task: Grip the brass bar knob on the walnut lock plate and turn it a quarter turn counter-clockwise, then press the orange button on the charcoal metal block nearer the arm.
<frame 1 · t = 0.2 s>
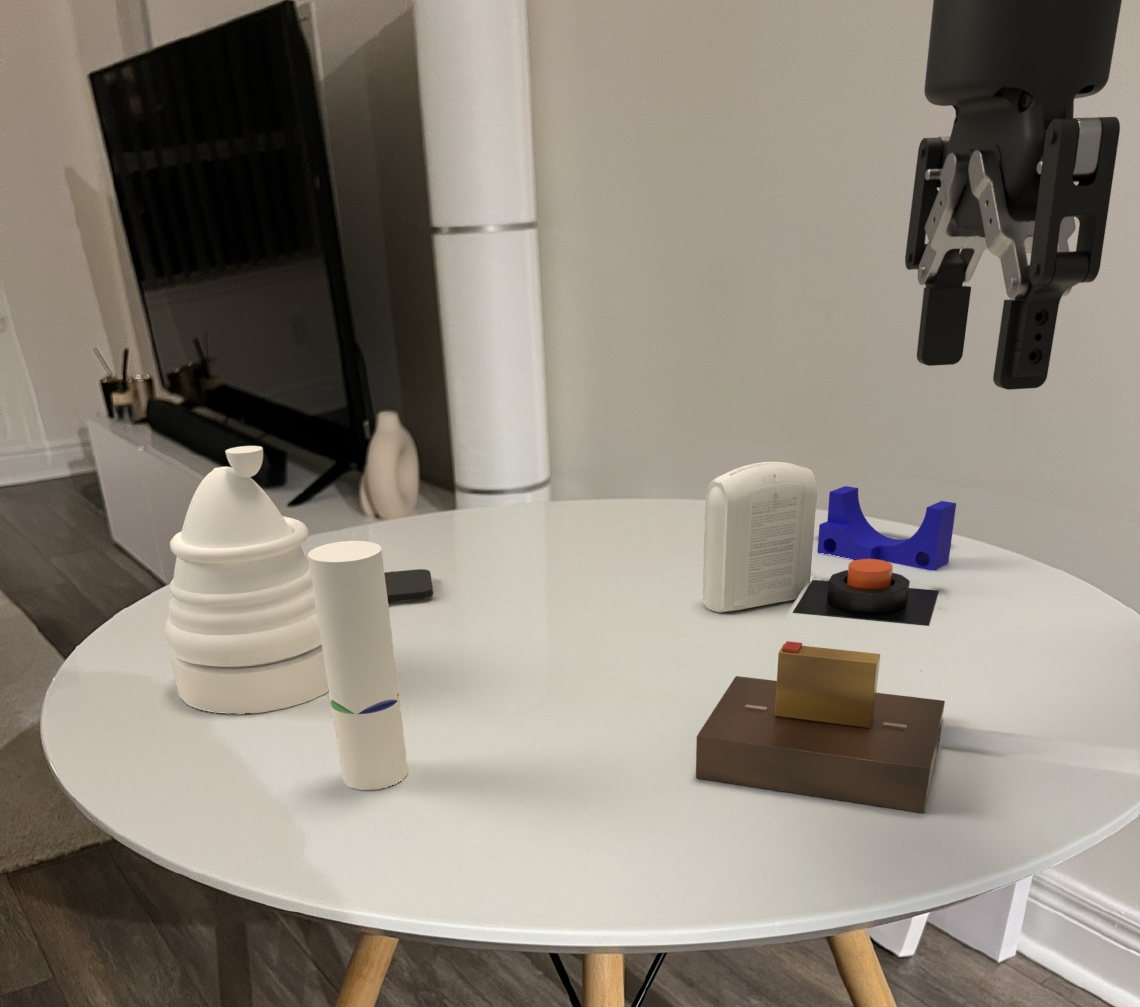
hand: (975, 375, 52), 25 cm above the table, tool pointing down, fingers open, 8 cm apart
honey pot: (262, 682, 85), on the table
phone: (354, 596, 103), on the table
lock plate: (820, 759, 70), on the table
tube: (375, 776, 70), on the table
lock knob: (826, 683, 67), point 5 cm above the table, hinge at 0.0°
photo printer: (756, 603, 97), on the table
button: (869, 575, 90), point 4 cm above the table, slide at 0.1 cm
button block: (865, 619, 92), on the table
blue u-shaped cradle: (881, 560, 107), on the table
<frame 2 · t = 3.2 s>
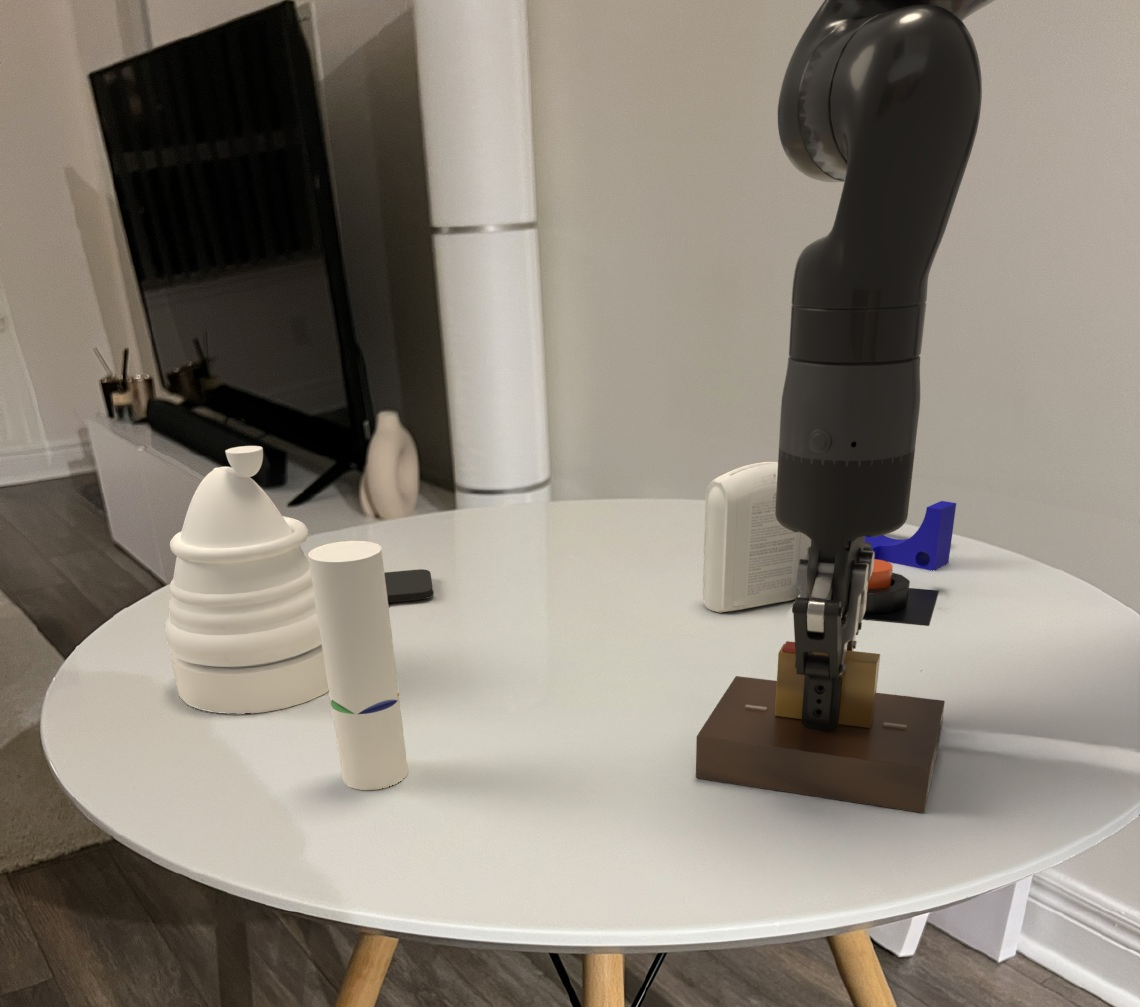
hand: (823, 716, 68), 3 cm above the table, tool pointing down, fingers closed
nothing on the table moved.
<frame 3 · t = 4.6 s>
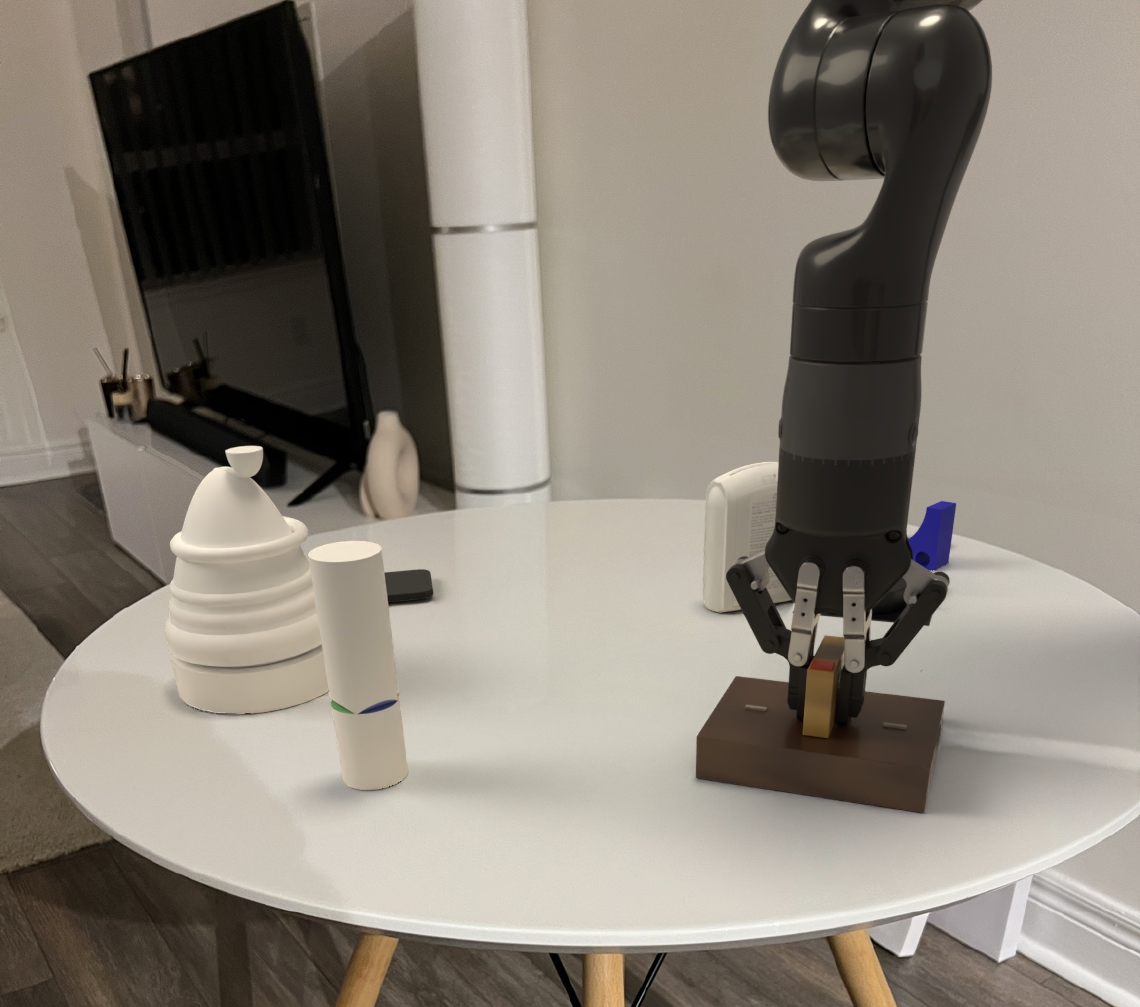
hand: (823, 716, 68), 3 cm above the table, tool pointing down, fingers closed
lock knob: (826, 683, 67), point 5 cm above the table, hinge at 90.2°
everything else where it was.
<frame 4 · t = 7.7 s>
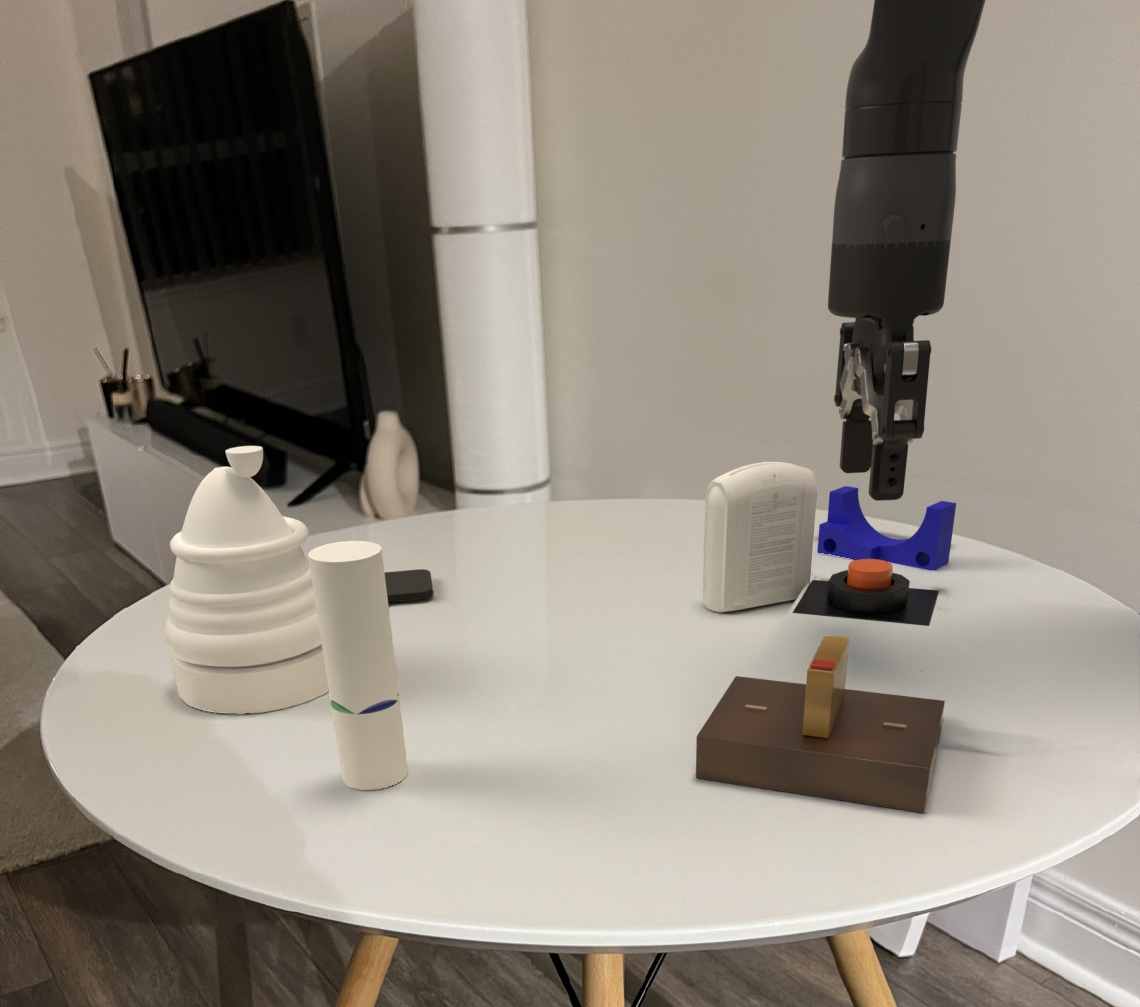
hand: (869, 484, 77), 14 cm above the table, tool pointing down, fingers open, 8 cm apart
nothing on the table moved.
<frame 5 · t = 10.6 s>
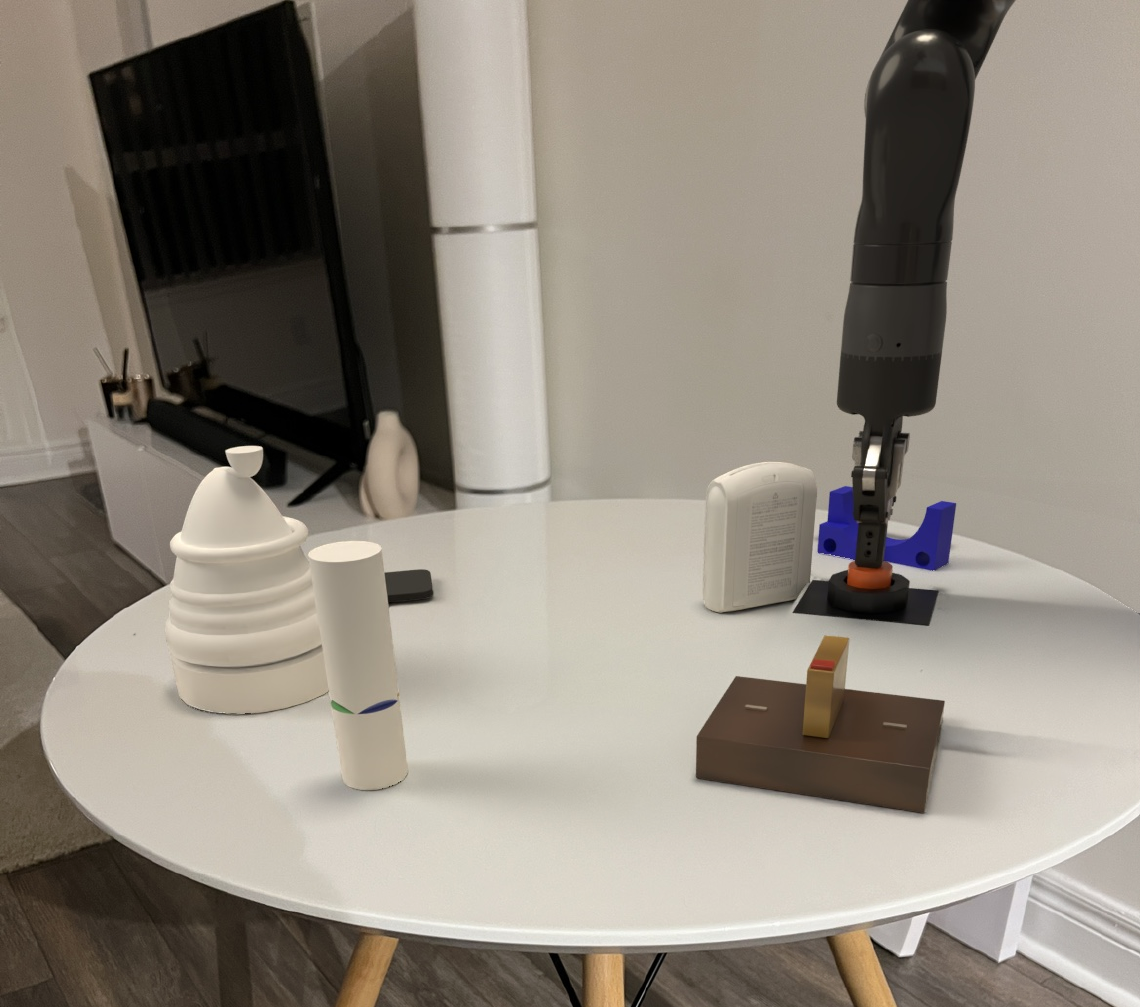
hand: (868, 565, 90), 5 cm above the table, tool pointing down, fingers closed
button: (869, 575, 90), point 4 cm above the table, slide at 0.1 cm, touching gripper
everything else where it was.
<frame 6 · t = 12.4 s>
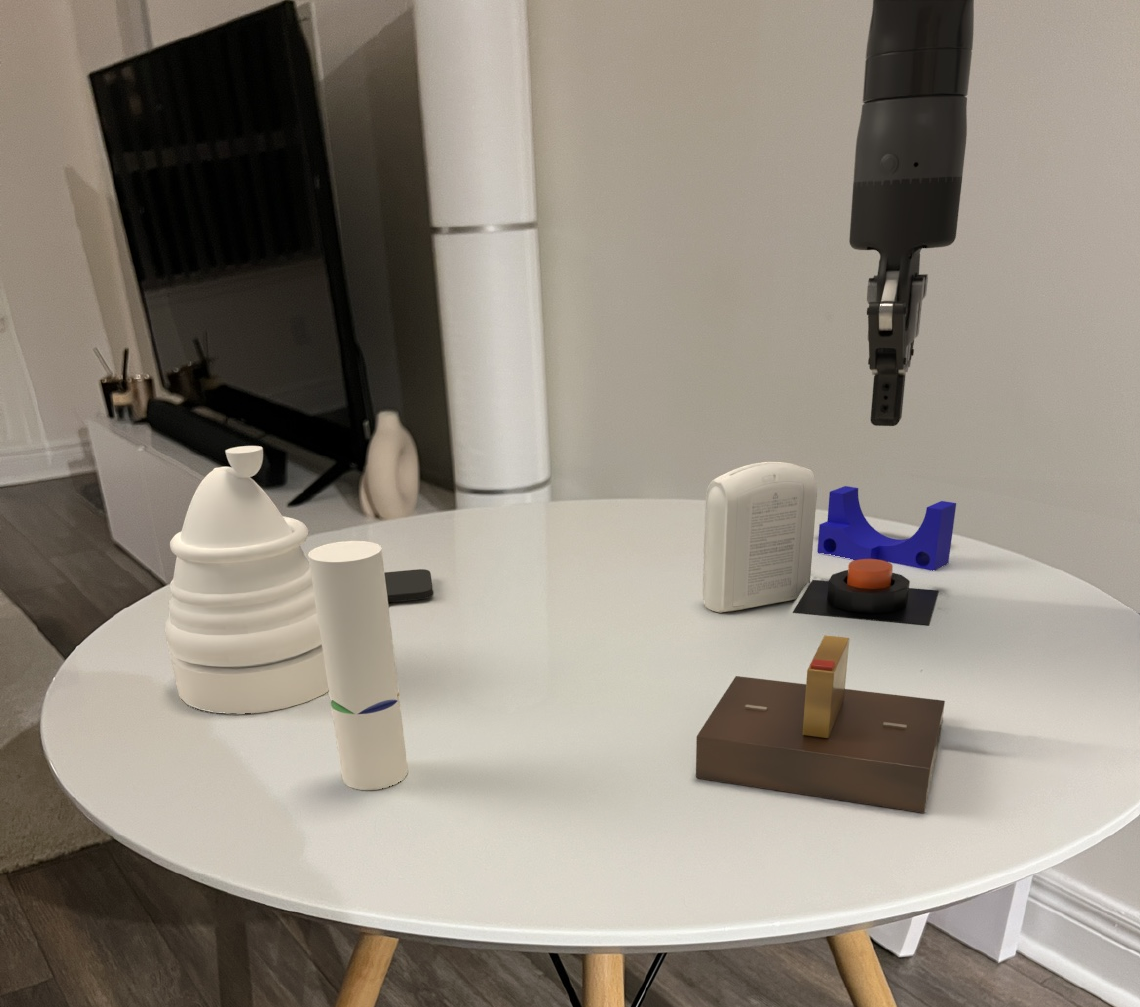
hand: (885, 423, 85), 16 cm above the table, tool pointing down, fingers closed
button: (869, 575, 90), point 4 cm above the table, slide at 0.1 cm
everything else where it was.
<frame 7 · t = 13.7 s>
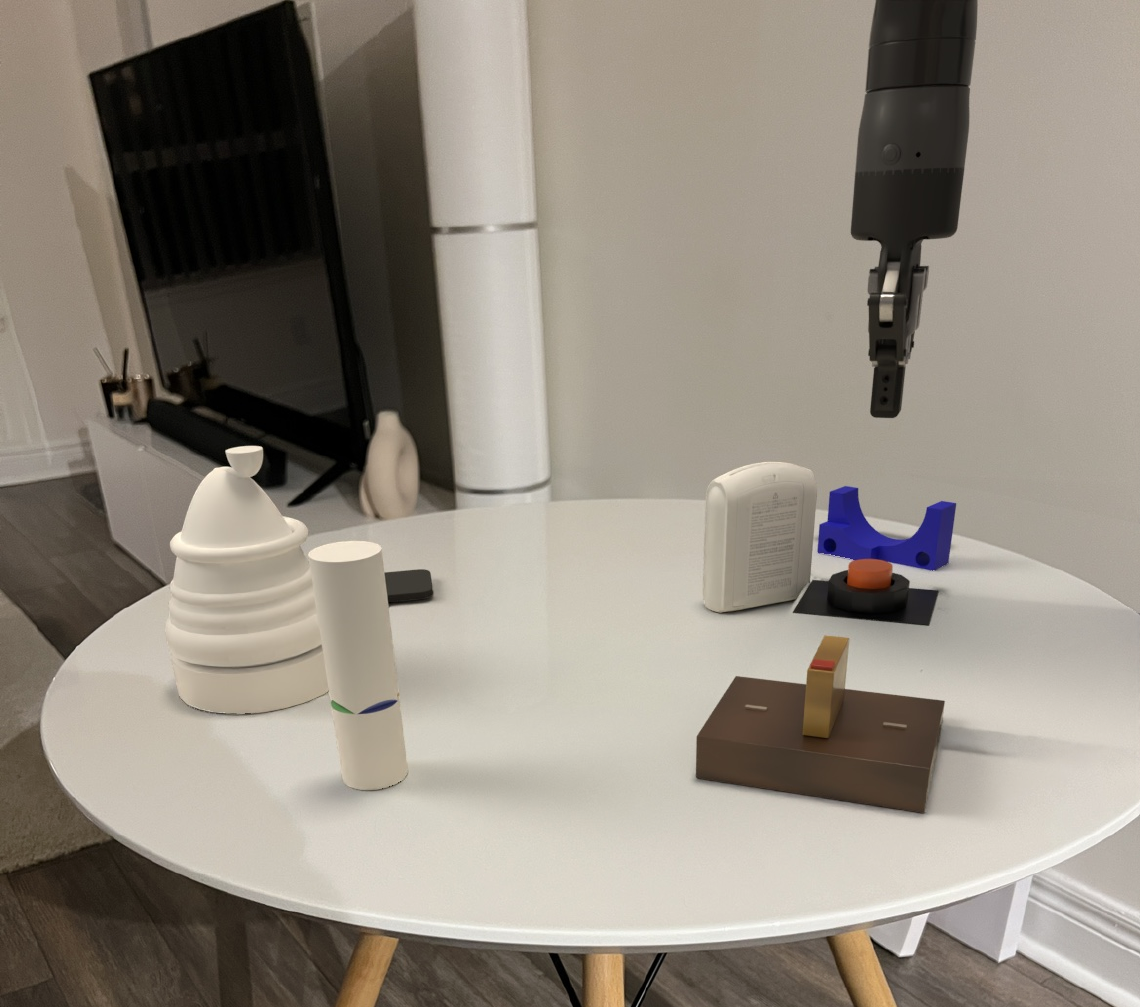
hand: (885, 415, 84), 17 cm above the table, tool pointing down, fingers closed
nothing on the table moved.
at the end: lock knob at +90° (first picture: +0°); button pushed in 1.1 cm at the most during the clip, back to where it started at the end; button slide at 0.1 cm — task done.
